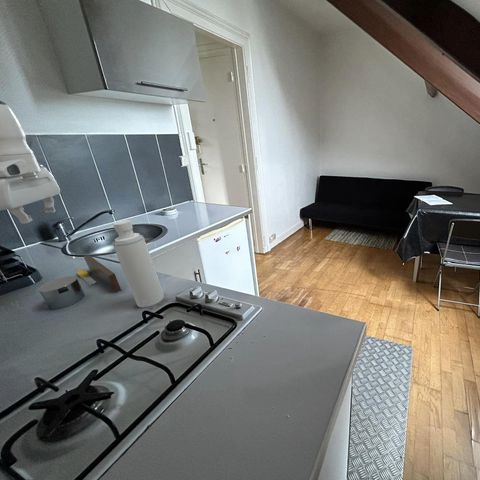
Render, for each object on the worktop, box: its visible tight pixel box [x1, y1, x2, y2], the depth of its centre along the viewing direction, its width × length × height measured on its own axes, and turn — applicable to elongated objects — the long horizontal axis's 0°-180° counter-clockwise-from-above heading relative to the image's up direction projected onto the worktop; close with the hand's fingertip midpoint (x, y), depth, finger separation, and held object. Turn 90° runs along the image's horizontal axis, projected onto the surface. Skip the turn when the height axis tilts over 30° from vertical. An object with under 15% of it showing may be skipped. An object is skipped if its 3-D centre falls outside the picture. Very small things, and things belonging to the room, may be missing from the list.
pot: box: [38, 275, 86, 311], centre depth 75 cm, size 8×10×6 cm
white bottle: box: [112, 219, 165, 308], centre depth 69 cm, size 7×7×25 cm
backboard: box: [83, 254, 122, 293], centre depth 85 cm, size 2×26×6 cm, turn 53°
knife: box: [76, 268, 98, 286], centre depth 88 cm, size 2×14×1 cm, turn 54°
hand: (40, 217), depth 73 cm, fingers open, 8 cm apart
